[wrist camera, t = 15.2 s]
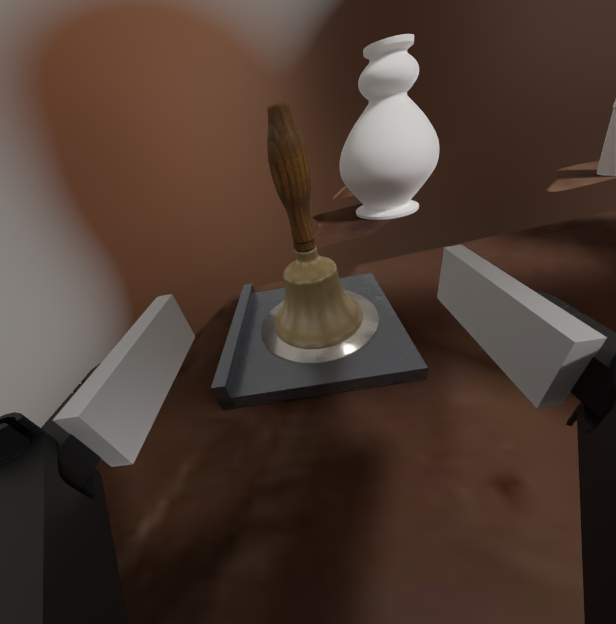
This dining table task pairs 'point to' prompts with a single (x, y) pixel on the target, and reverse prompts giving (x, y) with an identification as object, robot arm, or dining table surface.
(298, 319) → the hand bell
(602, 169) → the foam cup
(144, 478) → the dining table surface
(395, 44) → the decorative vase
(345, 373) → the plate
